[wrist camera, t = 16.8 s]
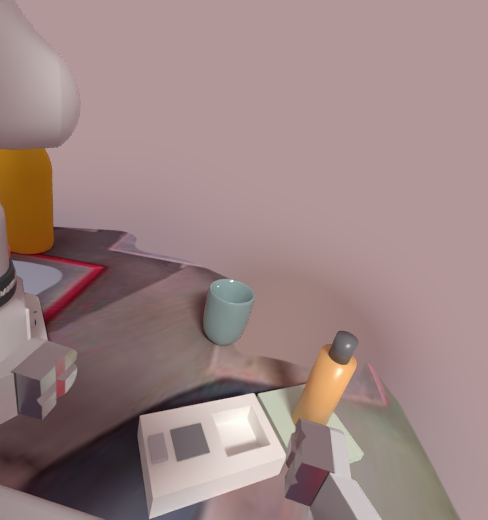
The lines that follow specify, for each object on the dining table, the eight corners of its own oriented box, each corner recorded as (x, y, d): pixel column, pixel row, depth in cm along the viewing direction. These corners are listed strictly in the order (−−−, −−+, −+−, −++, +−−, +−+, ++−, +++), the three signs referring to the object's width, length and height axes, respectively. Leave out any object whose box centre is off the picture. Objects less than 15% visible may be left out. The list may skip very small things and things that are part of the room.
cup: (191, 330, 58) (200, 283, 53) (223, 318, 63) (234, 275, 59) (218, 358, 53) (230, 308, 49) (250, 342, 58) (264, 297, 54)
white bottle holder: (149, 519, 31) (153, 494, 29) (137, 435, 38) (140, 412, 37) (278, 474, 38) (288, 452, 36) (248, 410, 45) (255, 389, 43)
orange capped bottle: (286, 411, 45) (321, 327, 39) (311, 405, 47) (349, 324, 41) (303, 441, 41) (346, 353, 35) (330, 432, 43) (374, 349, 37)
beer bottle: (41, 234, 76) (36, 102, 64) (62, 249, 72) (60, 112, 60) (-5, 241, 69) (-20, 94, 57) (15, 259, 65) (3, 104, 53)
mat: (255, 399, 47) (257, 393, 47) (310, 388, 52) (312, 382, 51) (299, 482, 38) (302, 476, 37) (360, 459, 42) (363, 453, 42)
